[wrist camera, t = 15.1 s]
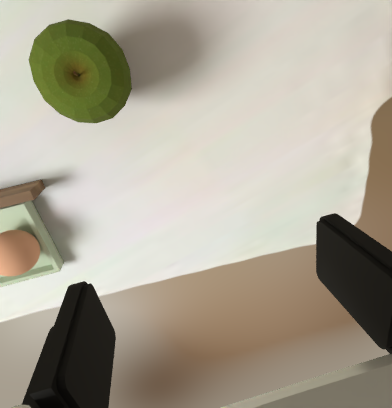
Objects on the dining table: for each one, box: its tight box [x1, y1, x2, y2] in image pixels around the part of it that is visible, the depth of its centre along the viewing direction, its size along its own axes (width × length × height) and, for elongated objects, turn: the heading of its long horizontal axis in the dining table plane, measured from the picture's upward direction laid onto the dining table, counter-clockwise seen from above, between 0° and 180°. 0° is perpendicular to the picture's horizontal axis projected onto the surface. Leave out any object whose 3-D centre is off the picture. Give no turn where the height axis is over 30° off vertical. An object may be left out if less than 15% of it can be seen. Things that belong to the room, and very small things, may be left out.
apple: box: [29, 20, 132, 123], centre depth 27 cm, size 9×8×12 cm
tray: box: [0, 201, 64, 287], centre depth 37 cm, size 11×11×2 cm
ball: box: [0, 230, 40, 276], centre depth 35 cm, size 6×6×6 cm
